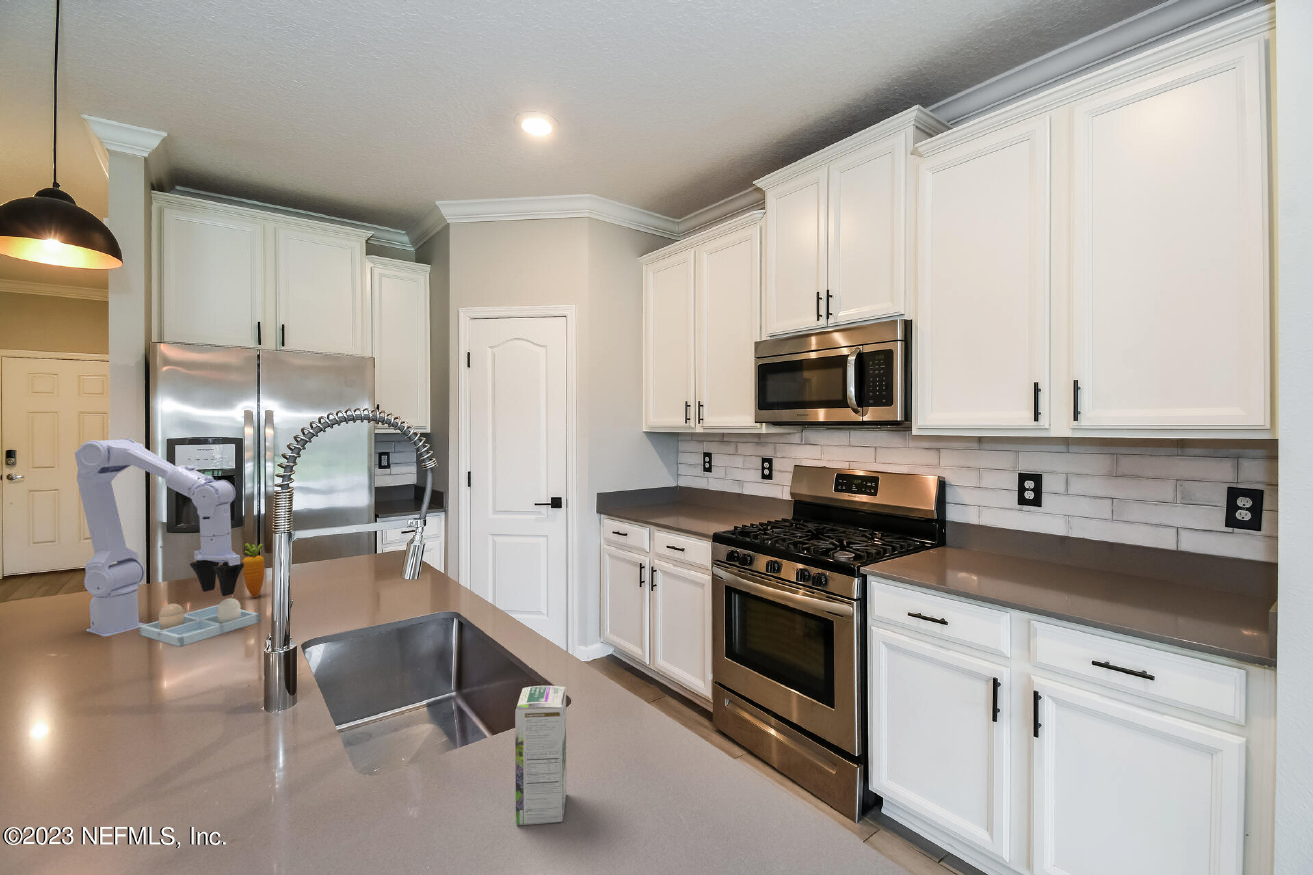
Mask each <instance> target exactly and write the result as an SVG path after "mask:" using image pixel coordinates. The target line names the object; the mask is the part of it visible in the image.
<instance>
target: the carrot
mask: <svg viewBox="0 0 1313 875" xmlns="http://www.w3.org/2000/svg"><path fill="white" fill-rule="evenodd" d="M263 545H264V544H262V543H260V544H258V546H257V547H256V546H255V544H251V545H250V543H249V542H247V543H245V544H244V548H246V550H245V551H244V553H246V554H247V555H248V556H246V557H245V558H243V559H242V561H241V563H244V567H243V568H242V574H243V579H244V584H245V587H246V590H247V591H248V593H249V594H250V596H251V597H252V598H254V599H256V598H257V597H258V596H259V593H260V592H261V589H262V587H263V583H264V578H265V558H264V556H263V555H259V552H260V551H261V549H262V547H263Z"/></svg>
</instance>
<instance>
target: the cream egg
mask: <svg viewBox="0 0 1313 875" xmlns="http://www.w3.org/2000/svg"><path fill="white" fill-rule="evenodd" d="M217 605H218V608H217V616H218V623H219V624H223V623H227V622H230V621H233V620H237V619H240V618H241V610H242V608H241V603H240V601H238V600H237V599H236V598H231V597H229V598H225V599H223V600H222V601H220V602H219V604H217Z"/></svg>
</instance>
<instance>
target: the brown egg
mask: <svg viewBox="0 0 1313 875" xmlns="http://www.w3.org/2000/svg"><path fill="white" fill-rule="evenodd" d="M184 614H185V610H184V608H183V606H182V605H180V604H177V603H169V604H167V605H165V606H163V607H162V608H160V610H159V613H158V621H159V628H160V630H165V629H169V628H172V627H176V626H179V625H183V624H184Z"/></svg>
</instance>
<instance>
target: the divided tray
mask: <svg viewBox="0 0 1313 875" xmlns="http://www.w3.org/2000/svg"><path fill="white" fill-rule="evenodd" d="M218 605H219V604H216V605H212V606H209V607H205V608H202V609H198V610H194V611H191V612H187V613H184V624H183V625H179V626H176V627H172V628H169V629H165V630H160V628H159V620H158V621H154V622H150V623H145V624H146V625H142V626H139V628H138V629H139V631H138V632H139V636H142V637H146V638H149V639H152V640H155V641H159V642H162V643H165V644H168V645H172V646H176V647H179V648H181V647H185V646H187V645H190V644H195V643H196V642H199V641H200V642H201V641H203V640H207V639H209V638H212V637H216V636H219V635H223V634H225V633H228V632H231V631H235V630H238V629H241V628H245V627H247V626H251V625H255V624H257V623H260V622H261V619H260V618H261V616H260V613H258V612H254V611H250V610H249V611H248V610H244V609H241V618H240V619H237V620H233V621H230V622H227V623H223V624H219V623H218V616H217V608H218Z"/></svg>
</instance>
